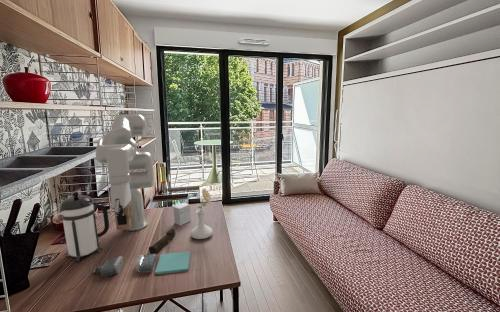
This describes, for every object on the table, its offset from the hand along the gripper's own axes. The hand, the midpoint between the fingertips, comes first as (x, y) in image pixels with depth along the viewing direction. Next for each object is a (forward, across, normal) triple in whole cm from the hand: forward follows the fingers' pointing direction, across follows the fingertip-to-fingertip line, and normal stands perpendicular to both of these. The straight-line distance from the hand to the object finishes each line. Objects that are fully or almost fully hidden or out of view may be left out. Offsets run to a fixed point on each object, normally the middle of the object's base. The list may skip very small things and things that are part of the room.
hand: (124, 220), depth 103 cm
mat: (+21, 0, +18) cm, 28 cm away
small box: (+22, -41, +18) cm, 50 cm away
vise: (+21, 0, -2) cm, 21 cm away
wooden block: (+3, 0, 0) cm, 3 cm away
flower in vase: (+22, -23, +30) cm, 43 cm away
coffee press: (+22, -17, -24) cm, 36 cm away
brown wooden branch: (+22, -18, +11) cm, 30 cm away
